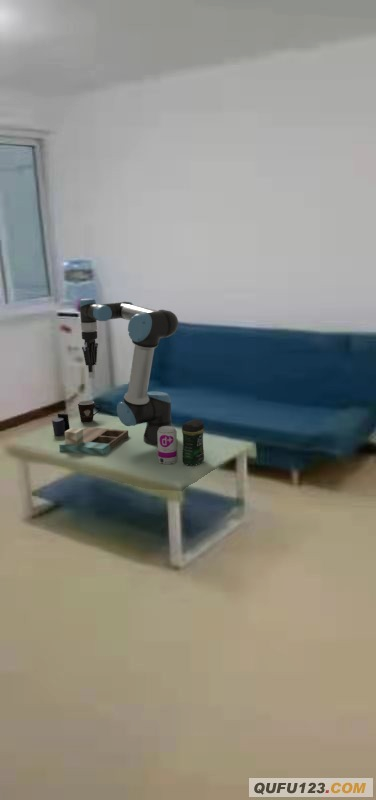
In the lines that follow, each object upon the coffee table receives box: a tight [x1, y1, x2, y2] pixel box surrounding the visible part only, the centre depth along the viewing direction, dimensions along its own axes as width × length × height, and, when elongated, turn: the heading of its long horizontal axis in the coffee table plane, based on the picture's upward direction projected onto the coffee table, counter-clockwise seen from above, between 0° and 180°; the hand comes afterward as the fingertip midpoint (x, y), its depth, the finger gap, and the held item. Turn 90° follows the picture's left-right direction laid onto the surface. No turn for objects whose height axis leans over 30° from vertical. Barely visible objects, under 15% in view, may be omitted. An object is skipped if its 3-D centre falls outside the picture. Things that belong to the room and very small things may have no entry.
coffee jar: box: [181, 418, 205, 466], centre depth 266 cm, size 10×8×19 cm
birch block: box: [64, 427, 84, 445], centre depth 286 cm, size 6×6×6 cm
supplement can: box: [157, 425, 178, 465], centre depth 268 cm, size 8×8×15 cm
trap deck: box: [58, 426, 129, 456], centre depth 295 cm, size 22×28×3 cm
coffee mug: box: [77, 400, 102, 423], centre depth 330 cm, size 12×9×10 cm
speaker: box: [51, 412, 71, 437], centre depth 309 cm, size 8×6×10 cm
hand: (92, 378), depth 311 cm, fingers closed
